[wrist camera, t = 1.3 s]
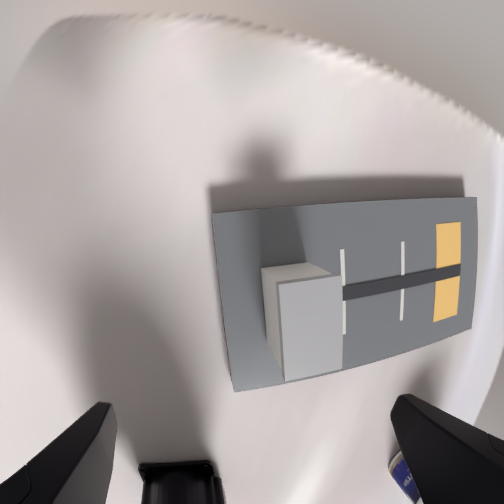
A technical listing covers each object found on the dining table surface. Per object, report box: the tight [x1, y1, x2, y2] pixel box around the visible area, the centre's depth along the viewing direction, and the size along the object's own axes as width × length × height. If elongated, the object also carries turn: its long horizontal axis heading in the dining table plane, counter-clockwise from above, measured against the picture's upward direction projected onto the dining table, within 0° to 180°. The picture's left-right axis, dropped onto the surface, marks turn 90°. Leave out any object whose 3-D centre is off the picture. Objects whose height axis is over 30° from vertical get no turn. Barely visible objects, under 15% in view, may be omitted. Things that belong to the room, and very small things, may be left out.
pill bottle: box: [389, 450, 423, 504], centre depth 22 cm, size 6×6×10 cm
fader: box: [261, 262, 343, 381], centre depth 18 cm, size 3×5×5 cm, turn 5°
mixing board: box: [212, 197, 478, 392], centre depth 22 cm, size 22×12×2 cm, turn 95°
